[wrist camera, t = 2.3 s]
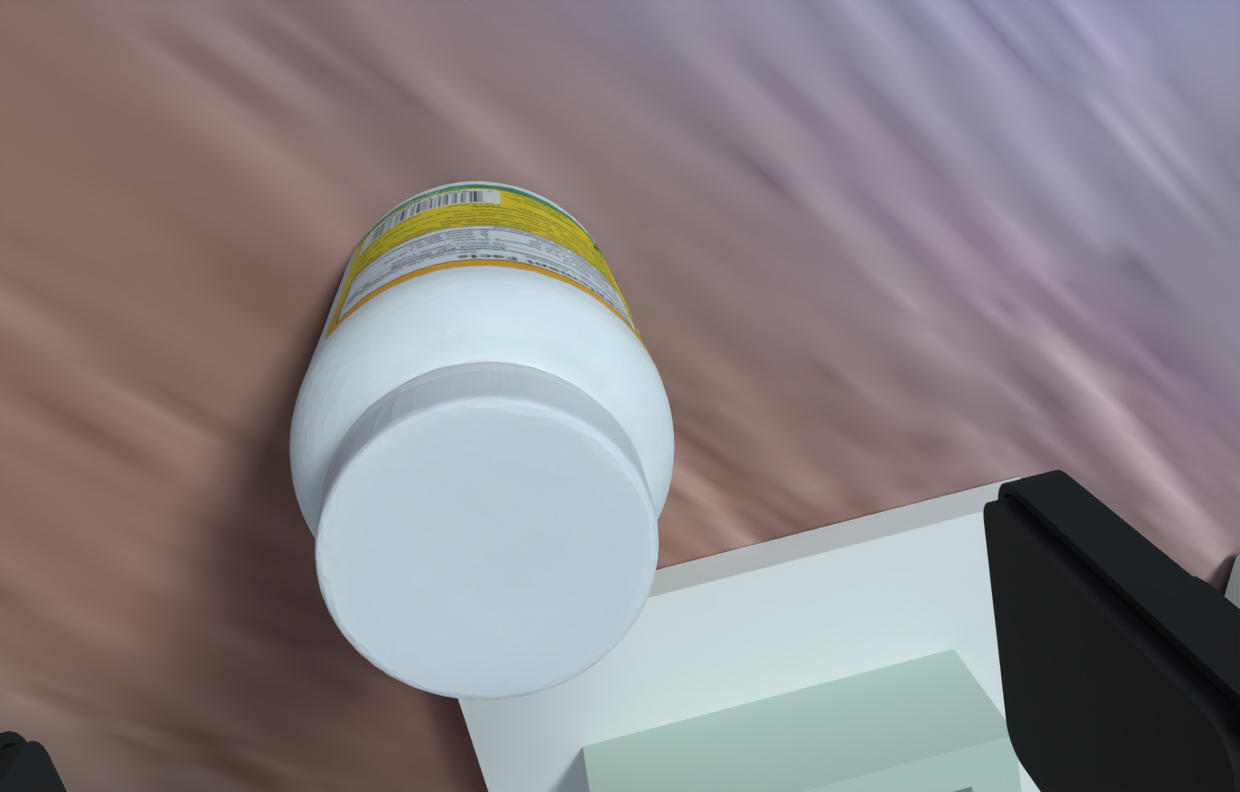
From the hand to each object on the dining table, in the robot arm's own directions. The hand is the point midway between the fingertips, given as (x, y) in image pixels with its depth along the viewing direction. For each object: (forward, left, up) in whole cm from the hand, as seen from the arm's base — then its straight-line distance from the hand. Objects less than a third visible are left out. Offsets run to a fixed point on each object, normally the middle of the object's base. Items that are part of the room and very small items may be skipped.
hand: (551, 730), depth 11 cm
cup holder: (+13, +4, -12) cm, 18 cm away
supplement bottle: (-1, 0, -12) cm, 12 cm away
